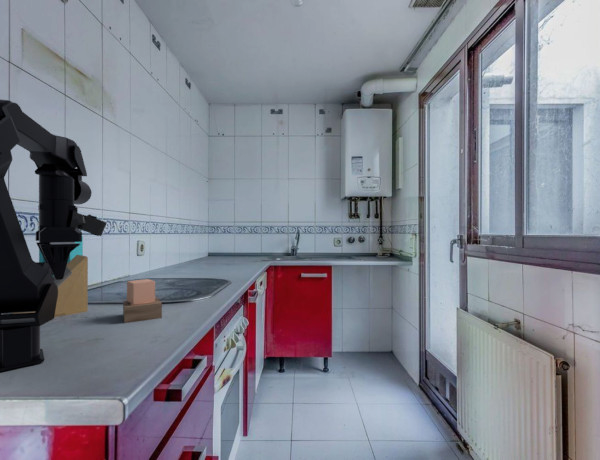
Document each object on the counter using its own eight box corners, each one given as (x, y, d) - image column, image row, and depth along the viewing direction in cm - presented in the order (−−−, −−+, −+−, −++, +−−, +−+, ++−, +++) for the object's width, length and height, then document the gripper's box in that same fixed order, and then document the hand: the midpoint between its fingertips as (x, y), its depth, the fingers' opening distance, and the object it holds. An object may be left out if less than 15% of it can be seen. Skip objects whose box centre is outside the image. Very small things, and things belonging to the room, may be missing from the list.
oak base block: (161, 319, 77) (161, 302, 77) (124, 324, 73) (124, 306, 73) (157, 312, 84) (157, 296, 84) (123, 316, 80) (123, 300, 80)
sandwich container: (3, 319, 77) (3, 258, 77) (77, 307, 89) (77, 254, 89) (10, 325, 72) (10, 260, 72) (88, 312, 84) (87, 255, 84)
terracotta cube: (155, 301, 78) (155, 281, 78) (133, 304, 75) (133, 283, 75) (147, 298, 82) (148, 279, 82) (126, 301, 78) (127, 281, 78)
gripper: (112, 199, 62) (112, 278, 62) (95, 205, 76) (95, 269, 76) (39, 195, 55) (40, 284, 55) (35, 202, 69) (35, 273, 69)
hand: (57, 277), depth 64 cm, fingers open, 9 cm apart
